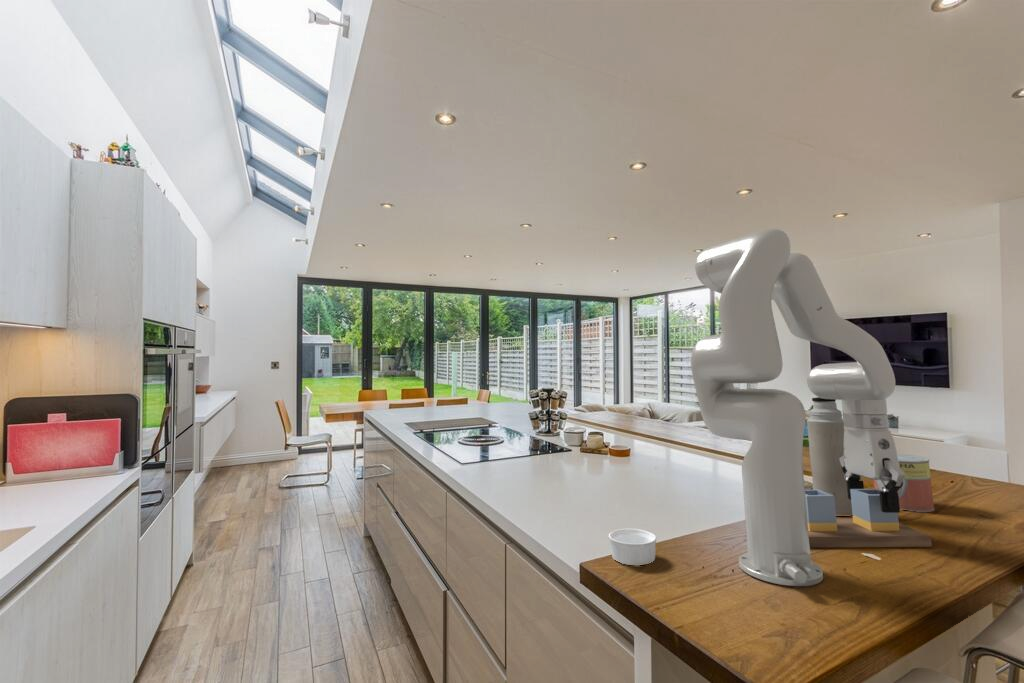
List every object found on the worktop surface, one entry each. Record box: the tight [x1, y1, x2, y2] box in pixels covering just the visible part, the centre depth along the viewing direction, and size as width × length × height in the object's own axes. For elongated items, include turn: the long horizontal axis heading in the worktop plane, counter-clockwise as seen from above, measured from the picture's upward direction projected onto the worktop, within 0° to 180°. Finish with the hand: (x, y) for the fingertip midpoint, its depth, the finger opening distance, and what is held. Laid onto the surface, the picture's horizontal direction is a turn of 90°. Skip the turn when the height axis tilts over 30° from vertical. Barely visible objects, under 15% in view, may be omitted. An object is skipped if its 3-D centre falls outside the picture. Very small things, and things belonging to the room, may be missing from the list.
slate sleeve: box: [850, 488, 900, 531], centre depth 94 cm, size 5×5×7 cm
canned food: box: [873, 453, 936, 513], centre depth 114 cm, size 11×11×12 cm
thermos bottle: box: [806, 396, 852, 515], centre depth 111 cm, size 8×8×28 cm
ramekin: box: [608, 528, 657, 566], centre depth 86 cm, size 9×9×4 cm
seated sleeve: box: [805, 489, 837, 531], centre depth 95 cm, size 5×5×7 cm
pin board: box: [808, 517, 933, 548], centre depth 94 cm, size 12×24×6 cm, turn 86°
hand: (872, 505), depth 94 cm, fingers open, 9 cm apart
